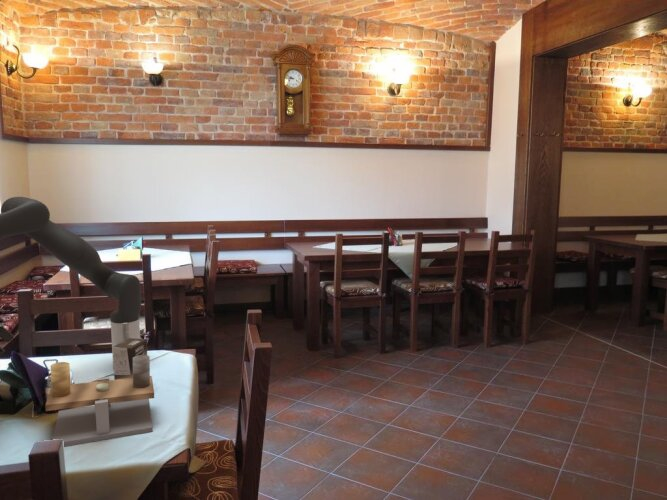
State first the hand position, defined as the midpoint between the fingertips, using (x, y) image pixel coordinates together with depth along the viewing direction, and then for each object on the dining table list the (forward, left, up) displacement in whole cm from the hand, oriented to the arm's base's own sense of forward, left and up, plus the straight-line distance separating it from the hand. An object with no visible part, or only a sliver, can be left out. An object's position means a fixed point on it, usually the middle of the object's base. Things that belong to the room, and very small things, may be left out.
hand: (6, 346), depth 134 cm
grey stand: (-12, +18, -24) cm, 32 cm away
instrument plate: (-12, +18, -15) cm, 26 cm away
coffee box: (-31, +12, -24) cm, 41 cm away
